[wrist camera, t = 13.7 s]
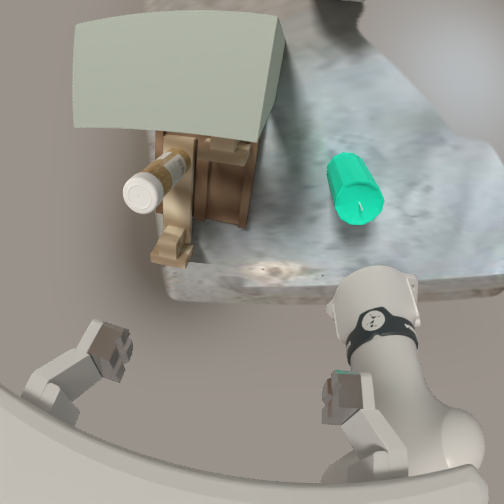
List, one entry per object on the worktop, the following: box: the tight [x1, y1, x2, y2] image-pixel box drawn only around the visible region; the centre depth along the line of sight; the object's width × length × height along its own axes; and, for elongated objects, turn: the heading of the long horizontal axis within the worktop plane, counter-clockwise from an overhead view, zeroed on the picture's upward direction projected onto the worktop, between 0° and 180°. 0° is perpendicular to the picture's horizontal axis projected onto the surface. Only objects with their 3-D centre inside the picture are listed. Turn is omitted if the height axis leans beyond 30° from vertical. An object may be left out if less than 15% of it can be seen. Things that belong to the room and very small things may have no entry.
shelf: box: [73, 10, 286, 143], centre depth 25 cm, size 9×15×22 cm, turn 82°
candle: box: [327, 152, 384, 225], centre depth 36 cm, size 6×6×12 cm
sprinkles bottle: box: [123, 148, 191, 214], centre depth 36 cm, size 5×5×14 cm
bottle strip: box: [150, 135, 196, 269], centre depth 43 cm, size 20×6×6 cm, turn 172°
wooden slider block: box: [197, 136, 251, 166], centre depth 33 cm, size 15×6×6 cm, turn 172°
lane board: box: [155, 130, 261, 228], centre depth 39 cm, size 29×15×2 cm, turn 172°
